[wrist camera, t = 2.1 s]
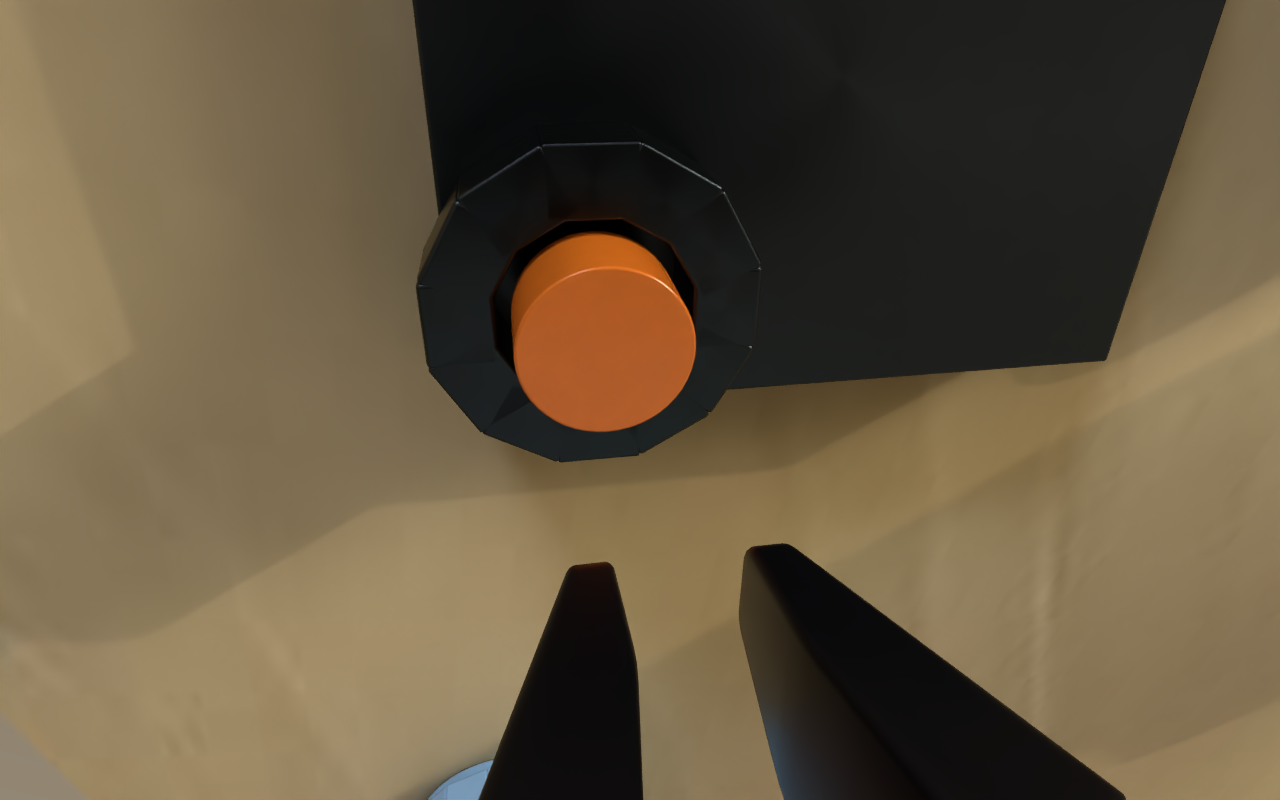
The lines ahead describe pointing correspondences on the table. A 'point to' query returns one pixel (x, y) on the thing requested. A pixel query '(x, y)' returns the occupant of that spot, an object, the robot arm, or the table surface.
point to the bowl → (464, 784)
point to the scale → (800, 181)
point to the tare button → (600, 332)
